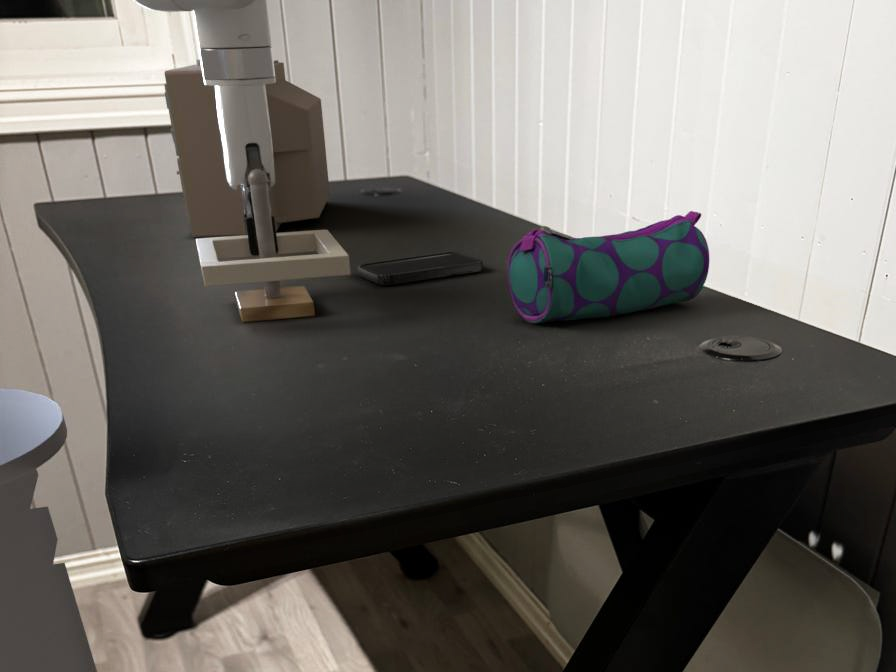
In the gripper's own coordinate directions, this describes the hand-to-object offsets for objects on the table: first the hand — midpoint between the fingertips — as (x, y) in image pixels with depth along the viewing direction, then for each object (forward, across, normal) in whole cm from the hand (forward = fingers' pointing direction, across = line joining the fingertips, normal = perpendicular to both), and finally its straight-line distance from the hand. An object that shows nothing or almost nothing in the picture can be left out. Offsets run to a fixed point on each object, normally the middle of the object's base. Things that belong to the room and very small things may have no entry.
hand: (263, 251), depth 109 cm
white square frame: (0, +7, 0) cm, 7 cm away
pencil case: (+5, +21, +35) cm, 41 cm away
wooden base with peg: (+5, +7, 0) cm, 9 cm away
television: (+5, -56, +5) cm, 57 cm away
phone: (+5, -5, +20) cm, 21 cm away
